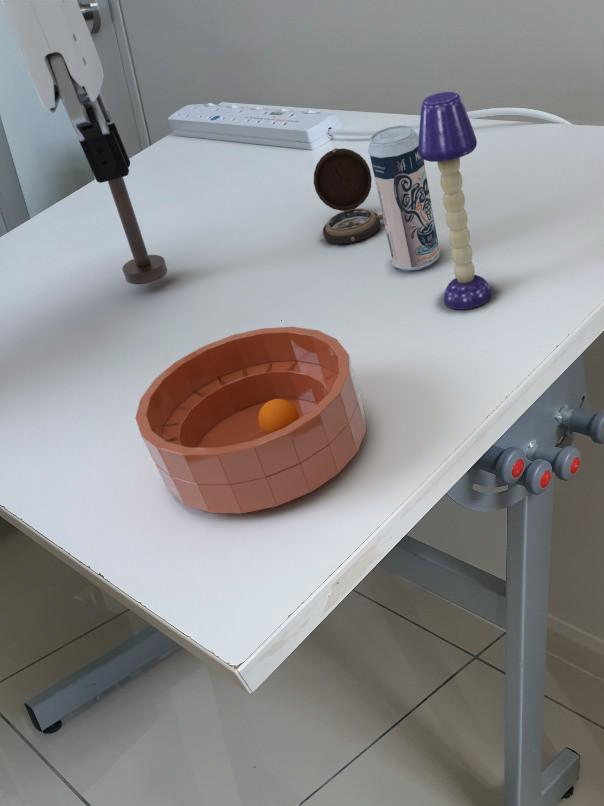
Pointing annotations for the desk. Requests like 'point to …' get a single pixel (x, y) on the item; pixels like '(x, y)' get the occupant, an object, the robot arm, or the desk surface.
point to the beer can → (404, 197)
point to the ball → (277, 415)
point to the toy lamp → (453, 189)
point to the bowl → (252, 419)
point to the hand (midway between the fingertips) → (114, 173)
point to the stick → (135, 241)
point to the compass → (345, 195)
